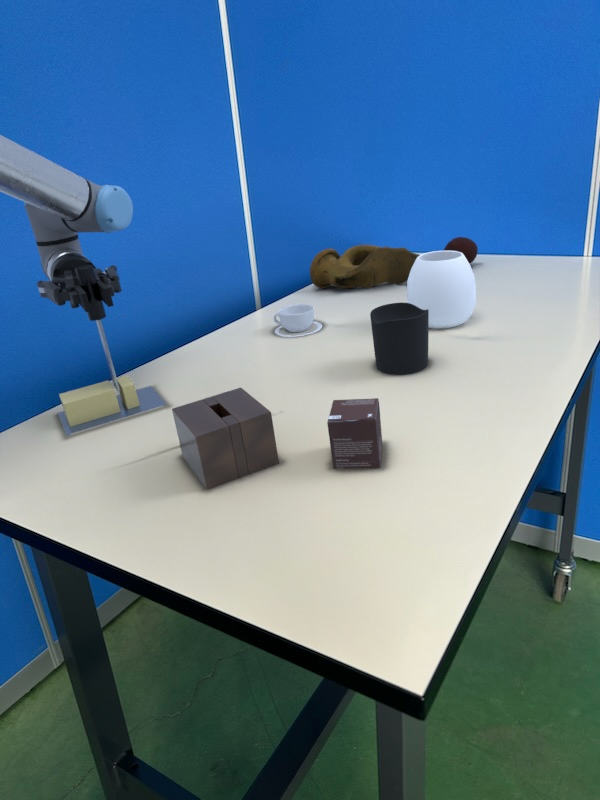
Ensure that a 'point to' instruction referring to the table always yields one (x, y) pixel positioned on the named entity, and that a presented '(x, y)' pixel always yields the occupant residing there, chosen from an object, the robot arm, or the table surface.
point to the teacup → (296, 319)
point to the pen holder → (400, 338)
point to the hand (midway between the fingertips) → (97, 300)
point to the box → (355, 434)
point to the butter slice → (128, 392)
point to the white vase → (443, 288)
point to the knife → (95, 309)
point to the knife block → (226, 437)
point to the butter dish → (146, 400)
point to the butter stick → (89, 403)
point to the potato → (463, 247)
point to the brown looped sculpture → (361, 266)
